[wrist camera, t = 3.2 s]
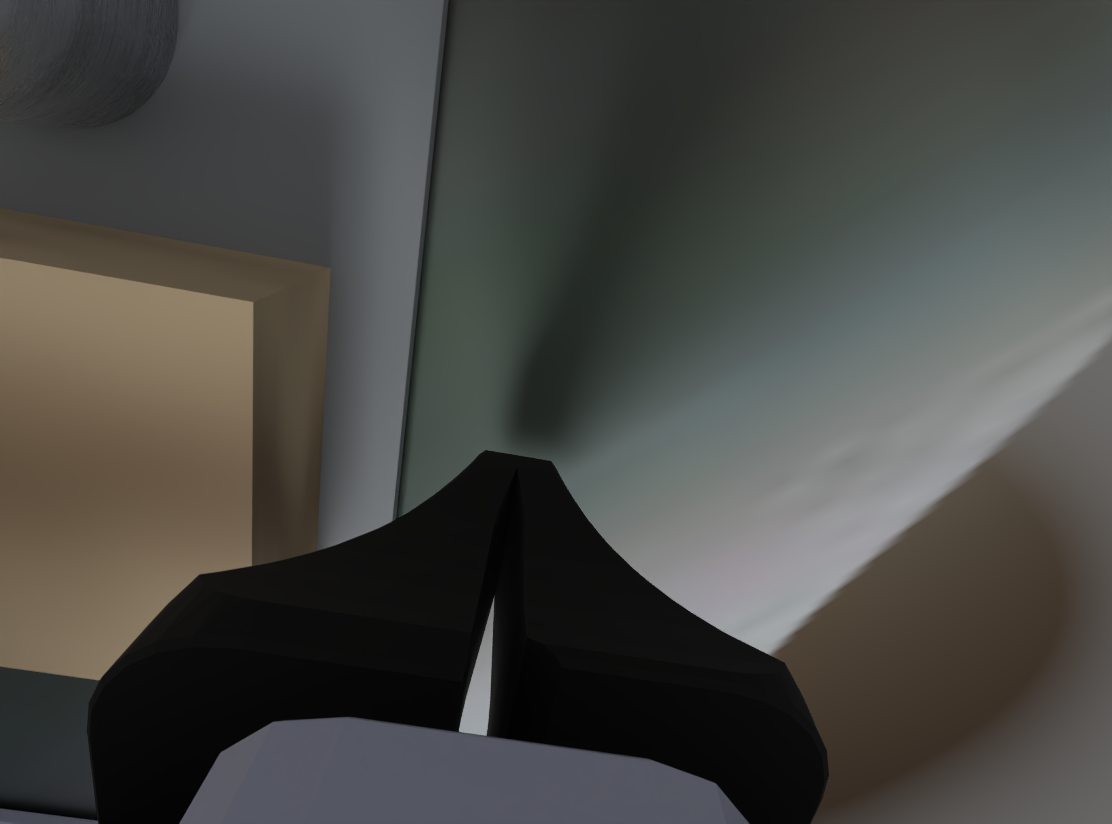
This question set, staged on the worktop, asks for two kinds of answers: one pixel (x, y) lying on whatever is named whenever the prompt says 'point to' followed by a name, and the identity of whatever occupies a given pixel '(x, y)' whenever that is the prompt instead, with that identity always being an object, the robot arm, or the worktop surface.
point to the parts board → (283, 191)
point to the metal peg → (82, 59)
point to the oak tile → (146, 428)
